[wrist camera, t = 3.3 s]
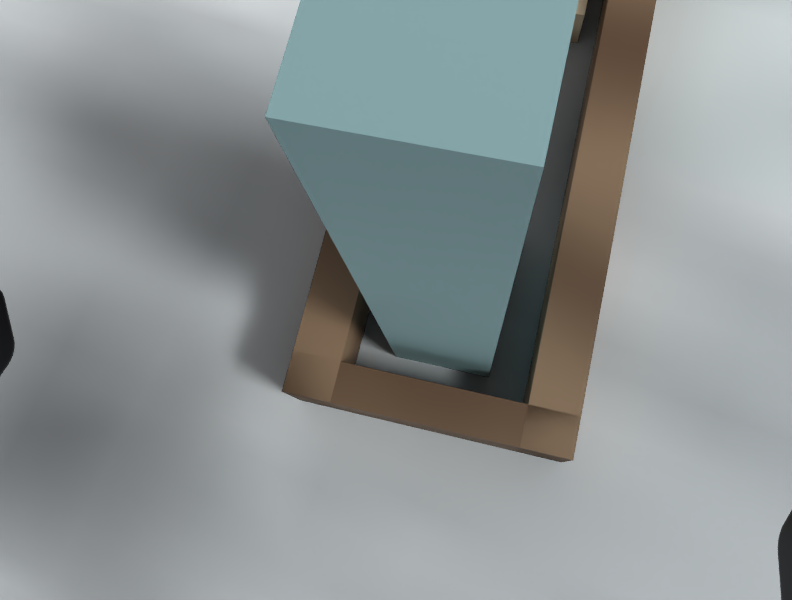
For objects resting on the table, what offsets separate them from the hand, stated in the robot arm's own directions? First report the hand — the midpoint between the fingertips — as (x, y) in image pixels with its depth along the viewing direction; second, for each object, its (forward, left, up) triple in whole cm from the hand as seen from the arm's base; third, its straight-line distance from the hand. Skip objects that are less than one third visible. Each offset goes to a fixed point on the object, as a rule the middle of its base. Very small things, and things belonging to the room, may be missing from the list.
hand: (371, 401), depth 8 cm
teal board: (+2, -3, -11) cm, 12 cm away
